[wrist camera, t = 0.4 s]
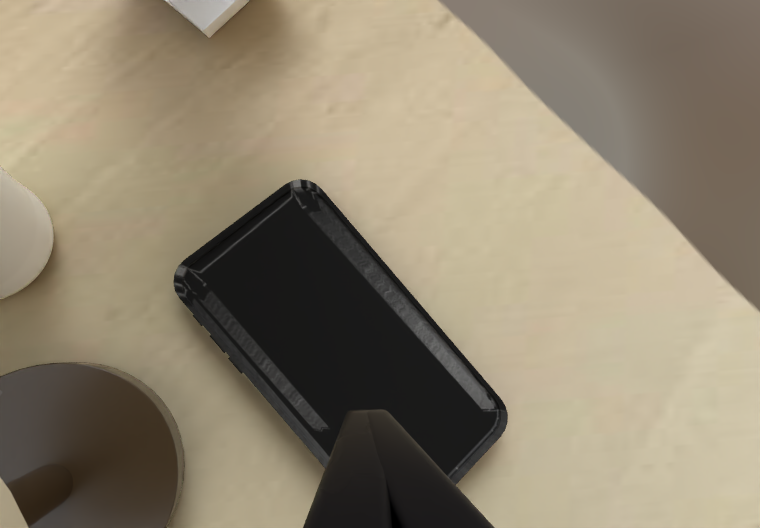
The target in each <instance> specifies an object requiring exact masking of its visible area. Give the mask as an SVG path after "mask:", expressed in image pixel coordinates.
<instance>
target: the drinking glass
mask: <svg viewBox="0 0 760 528" xmlns="http://www.w3.org/2000/svg"><path fill="white" fill-rule="evenodd" d="M53 241H54V231H53V224H52V220H51V218H50V215H49V213H48V211H47V209H46V207H45V206H44V204H43V203H42V201H41V200H40V199H39V198H38V197H37V196H36V195H35V194H34V193H33V192H32V191H31V190H30V189H28V188H27V187H26V186H24V185H23V184H21V183H20V182H18V181H17V180H16V179H14V178H13V177H12V176H11V175H10V174H9V173H7V172H6V171H5V170H4V169H3V168H2V167H1V166H0V299H3V298H6V297H8V296H11V295H13V294H15V293H17V292H19V291H20V290H22V289H23V288H25V287H26V286H27V285H29V284H30V283H31V282H32V281H33V280H34V279H35V278H36V277H37V276H38V275H39V274H40V273H41V271H42V270H43V269H44V267H45V265H46V264H47V262H48V260H49V257H50V255H51V252H52V248H53Z"/></svg>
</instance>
